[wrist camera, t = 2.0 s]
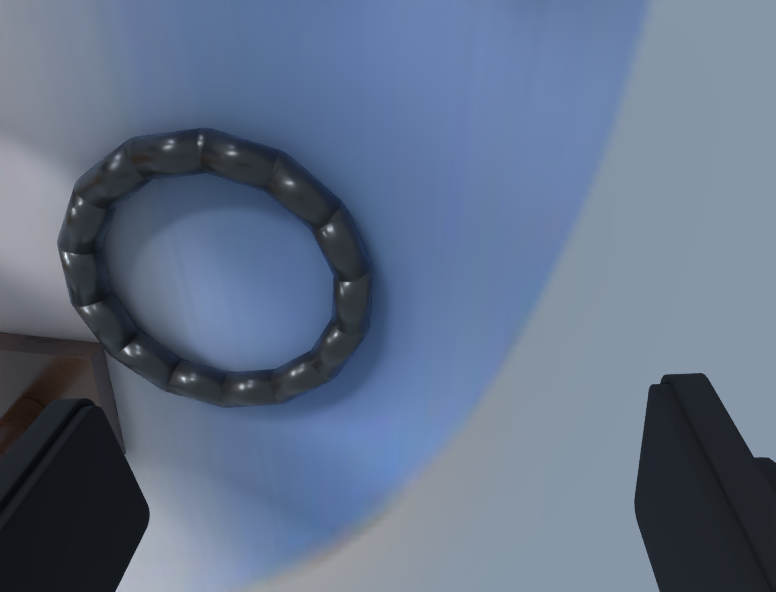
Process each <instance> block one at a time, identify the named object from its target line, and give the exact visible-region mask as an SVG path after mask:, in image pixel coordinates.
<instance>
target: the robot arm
mask: <svg viewBox="0 0 776 592" xmlns="http://www.w3.org/2000/svg"><path fill="white" fill-rule="evenodd" d="M634 503H635V514H636V519H637V522H638V526H639V529H640V532H641V535H642V538H643V541H644V544H645V547H646V550H647V553H648V557H649V560H650V563H651V566H652V569H653V572H654V575H655V578H656V581H657V584H658V587H659V590H660V592H776V463H775V462H774V461H773V460H771V459H770V458H762V457H760V458H754V457H753V455H752V453H751V452H750V450H749V448H748V447H747V445H746V443H745V441H744V440H743V438H742V436H741V435H740V433H739V431H738V429H737V428H736V426H735V424H734V422H733V421H732V419H731V417H730V416H729V414H728V412H727V411H726V409H725V407H724V405H723V403H722V402H721V400H720V398H719V397H718V395H717V393H716V392H715V390H714V388H713V386H712V385H711V383H710V381H709V380H708V378H707V377H706V376H705V375H704V374H702V373H696V374H695V373H694V374H669V375H664V376H663V377H662V379H661V383H660V384H653V385H651V386H650V388H649V393H648V401H647V408H646V416H645V423H644V431H643V439H642V446H641V454H640V461H639V469H638V476H637V484H636V492H635V501H634ZM149 516H150V512H149V507H148V504H147V502H146V500H145V498H144V496H143V493H142V491H141V489H140V487H139V485H138V483H137V481H136V479H135V476H134V474H133V472H132V470H131V468H130V466H129V464H128V462H127V459H126V457H125V455H124V453H123V451H122V449H121V447H120V445H119V442H118V440H117V438H116V436H115V434H114V432H113V430H112V428H111V425H110V423H109V421H108V419H107V417H106V415H105V413H104V411H103V409H102V408H101V407H99V406H96V405H95V404H94V402H93V401H92V400H90V399H87V398H76V399H56V400H54V401H52V402H50V403H49V404H48V405H47V406H46V408H45V409H44V410H43V411H42V412H41V414H40V415H39V416H38V417H37V418H36V420H35V421H34V422H33V423H32V424H31V426H30V427H29V428H28V429H27V431H26V432H25V433H24V434H23V435H22V437H21V438H20V439H19V440H18V441H17V443H16V444H15V445H14V446H13V447H12V449H11V450H10V451H9V452H8V453H7V455H6V456H5V457H4V458H3V460H2V461H1V462H0V592H115V591H116V589H117V587H118V585H119V583H120V581H121V579H122V577H123V575H124V573H125V571H126V569H127V567H128V565H129V563H130V561H131V559H132V557H133V555H134V553H135V551H136V549H137V547H138V545H139V543H140V541H141V539H142V537H143V535H144V533H145V531H146V528H147V526H148V523H149Z"/></svg>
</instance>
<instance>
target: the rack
mask: <svg viewBox="0 0 776 592" xmlns="http://www.w3.org/2000/svg"><path fill="white" fill-rule="evenodd" d="M76 398H87V399H90V400H92V401H93V402H94V404H95V405H96V406H99V407H101V408H102V409H103V411H104V413H105V415H106V417H107V419H108V421H109V423H110V425H111V428H112V430H113V432H114V434H115V436H116V438H117V440H118V442H119V445H120V447H121V449H122V451H123V453H124V455H125V453H126V452H125V447H124V442H123V438H122V433H121V428H120V423H119V419H118V414H117V409H116V404H115V400H114V395H113V390H112V386H111V381H110V376H109V371H108V367H107V362H106V357H105V353H104V348H103V346H102V344H100V343H91V342H82V341H72V340H63V339H53V338H44V337H35V336H25V335H16V334H6V333H0V462H1V461H2V460H3V458H4V457H5V456H6V455H7V453H8V452H9V451H10V450H11V449H12V447H13V446H14V445H15V444H16V443H17V441H18V440H19V439H20V438H21V437H22V435H23V434H24V433H25V432H26V431H27V429H28V428H29V427H30V426H31V424H32V423H33V422H34V421H35V420H36V418H37V417H38V416H39V415H40V414H41V412H42V411H43V410H44V409H45V408H46V406H47V405H48V404H49V403H50V402H52V401H54V400H56V399H76Z"/></svg>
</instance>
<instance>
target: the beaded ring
mask: <svg viewBox="0 0 776 592" xmlns="http://www.w3.org/2000/svg"><path fill="white" fill-rule="evenodd" d="M204 173H207V174H211V175H214V176H217V177H220V178H223V179H227V180H230V181H233V182H236V183H239V184H242V185H246V186H249V187H252V188H255V189H258V190H261V191H265V192H266V193H267V194H268V195H270V196H271V197H272V198H273V199H274V200H276V201H277V202H278V203H279V204H280V205H282V206H283V207H284V208H285V209H286V210H288V211H289V212H290V213H291V214H292V215H294V216H295V217H296V218H297V219H298V220H300V221H301V222H302V223H303V224H304V225H306V226H307V227H308V228H309V229H310V230H311V231H312V233H313V235H314V237H315V239H316V241H317V243H318V245H319V248H320V250H321V252H322V254H323V256H324V258H325V260H326V262H327V264H328V266H329V268H330V270H331V272H332V274H333V276H334V277H333V305H332V319H331V321H330V322H329V324H328V325H327V327H326V328H325V330H324V331H323V333H322V334H321V336H320V337H319V339H318V340H317V342H316V344H315V345H314V347H313V348H312V350H311V351H309V352H307V353H305V354H303V355H301V356H299V357H297V358H296V359H294V360H292V361H290V362H288V363H286V364H284V365H282V366H281V367H279V368H277V369H273V370H260V371H246V372H233V373H228V372H225V371H221V370H218V369H214V368H211V367H207V366H204V365H200V364H196V363H193V362H189V361H186V360H182V359H180V358H179V357H177V356H176V355H174V354H173V353H172V352H170V351H169V350H167V349H166V348H164V347H163V346H161V345H160V344H158V343H157V342H156V341H154V340H153V339H151V338H150V337H148V336H147V335H145V334H144V333H142V332H141V331H140V330H139V329H138V328H137V327H136V325H135V324H134V322H133V321H132V319H131V318H130V317H129V315H128V314H127V312H126V311H125V310H124V308H123V307H122V305H121V304H120V303H119V301H118V300H117V298H116V297H115V295H114V294H113V293H112V291H111V290H110V284H109V279H108V274H107V269H106V264H105V258H104V253H103V248H102V245H103V242H104V239H105V236H106V234H107V231H108V228H109V225H110V223H111V220H112V217H113V214H114V212H115V209H116V206H118V205H119V204H120V203H122V202H123V201H124V200H126V199H127V198H129V197H130V196H131V195H133V194H134V193H135V192H137V191H138V190H139V189H141V188H142V187H143V186H145V185H146V184H147V183H149V182H150V181H152V180H154V179H163V178H171V177H179V176H187V175H196V174H204ZM57 245H58V250H59V254H60V258H61V263H62V267H63V271H64V275H65V280H66V284H67V288H68V292H69V297H70V301H71V304H72V306H73V307H74V309H75V310H76V311H77V312H78V314H79V315H80V316H81V318H82V319H83V320H84V322H85V323H86V324H87V326H88V327H89V328H90V330H91V331H92V332H93V334H94V335H95V336H96V338H97V339H98V340H99V342H100V343H101V344H102V346H103V347H104V348H105V349H106V351H107V352H108V353H109V355H110V356H112V357H113V358H114V359H116V360H117V361H119V362H120V363H122V364H123V365H125V366H126V367H128V368H130V369H131V370H133V371H134V372H136V373H137V374H139V375H140V376H142V377H143V378H145V379H146V380H148V381H149V382H151V383H152V384H154V385H155V386H157V387H158V388H160V389H161V390H163V391H165V392H169V393H172V394H176V395H179V396H183V397H187V398H190V399H194V400H197V401H201V402H205V403H208V404H212V405H216V406H219V407H223V408H230V407H245V406H260V405H275V404H284V403H287V402H289V401H291V400H293V399H295V398H297V397H299V396H301V395H303V394H305V393H307V392H309V391H311V390H313V389H315V388H317V387H319V386H321V385H323V384H325V383H327V382H329V381H331V380H332V379H334V378H335V377H336V376H337V375H338V374H339V373H340V371H341V370H342V368H343V367H344V366H345V364H346V363H347V361H348V360H349V358H350V357H351V356H352V354H353V353H354V351H355V350H356V349H357V347H358V346H359V344H360V343H361V341H362V340H363V339H364V337H365V336H366V334H367V332H368V330H369V325H370V312H371V299H372V286H373V266H372V263H371V261H370V259H369V257H368V254H367V252H366V250H365V248H364V245H363V243H362V241H361V239H360V237H359V234H358V232H357V230H356V228H355V225H354V223H353V221H352V219H351V217H350V214H349V212H348V210H347V208H346V206H345V204H344V203H343V202H342V201H341V200H340V199H338V198H337V197H336V196H335V195H334V194H333V193H332V192H330V191H329V190H328V189H327V188H326V187H325V186H324V185H322V184H321V183H320V182H319V181H318V180H317V179H316V178H314V177H313V176H312V175H311V174H310V173H309V172H308V171H306V170H305V169H304V168H303V167H302V166H301V165H300V164H298V163H297V162H296V161H295V160H294V159H293V158H292V157H290V156H289V155H288V154H286V153H285V152H283V151H280V150H277V149H274V148H271V147H267V146H264V145H261V144H258V143H255V142H252V141H249V140H246V139H243V138H240V137H236V136H233V135H230V134H227V133H224V132H221V131H218V130H215V129H211V128H199V129H191V130H183V131H176V132H168V133H161V134H153V135H145V136H138V137H133V138H131V139H129V140H127V141H126V142H124V143H123V144H122V145H121V146H119V147H118V148H117V149H115V150H114V151H113V152H112V153H110V154H109V155H108V156H107V157H105V158H104V159H103V160H102V161H100V162H99V163H98V164H96V165H95V166H94V167H93V168H91V169H90V170H89V171H88V172H86V173H85V174H84V175H82V176H81V177H80V178H79V179H78V180H77V181H76V183H75V185H74V188H73V192H72V195H71V198H70V201H69V204H68V208H67V211H66V214H65V217H64V220H63V224H62V227H61V230H60V233H59V236H58V241H57Z"/></svg>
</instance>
